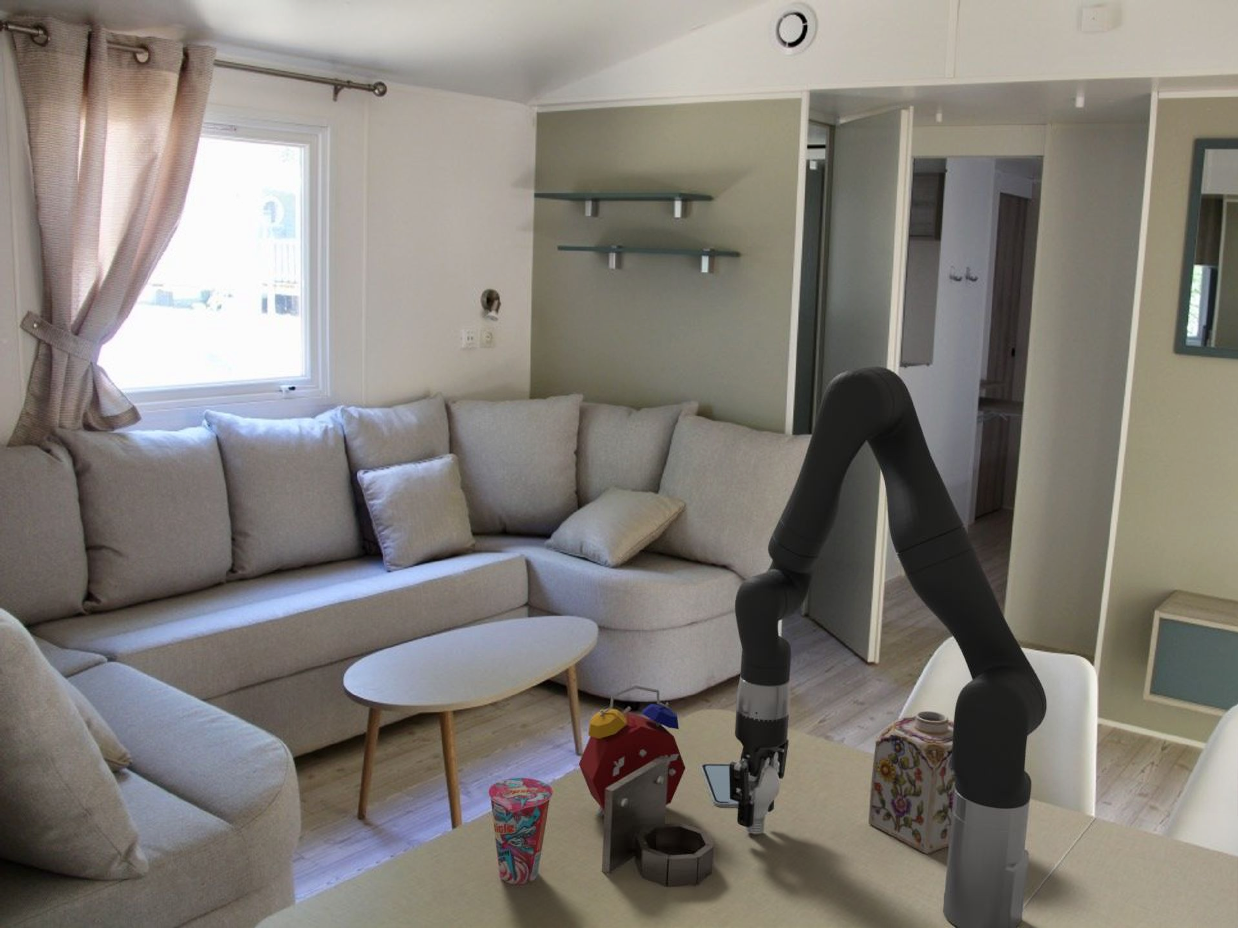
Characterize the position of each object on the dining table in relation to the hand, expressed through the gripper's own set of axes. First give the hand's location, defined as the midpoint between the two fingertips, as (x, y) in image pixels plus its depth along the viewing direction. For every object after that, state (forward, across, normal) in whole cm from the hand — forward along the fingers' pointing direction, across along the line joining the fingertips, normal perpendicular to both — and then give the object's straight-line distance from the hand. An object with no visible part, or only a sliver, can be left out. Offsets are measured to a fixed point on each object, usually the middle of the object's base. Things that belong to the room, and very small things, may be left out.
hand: (755, 816), depth 180 cm
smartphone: (+3, +12, +11) cm, 17 cm away
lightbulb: (+3, 0, 0) cm, 3 cm away
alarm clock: (+3, -7, +17) cm, 18 cm away
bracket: (+3, -16, +5) cm, 17 cm away
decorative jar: (+3, +17, -19) cm, 26 cm away
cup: (+3, -31, +19) cm, 36 cm away
